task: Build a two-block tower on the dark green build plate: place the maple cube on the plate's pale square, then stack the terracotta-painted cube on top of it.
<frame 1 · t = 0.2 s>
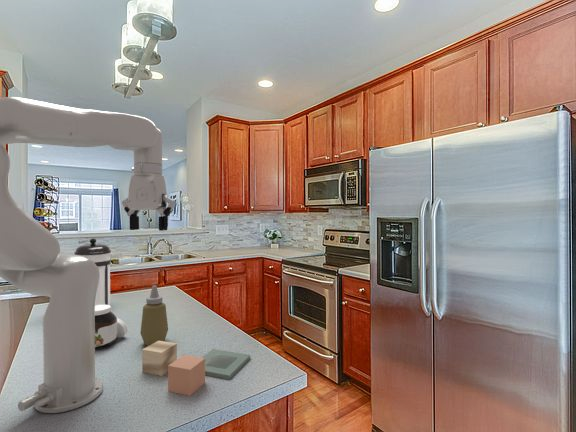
hand: (148, 230, 94), 36 cm above the counter, tool pointing down, fingers open, 9 cm apart
squeeze bottle: (154, 343, 102), on the counter
build plate: (220, 364, 87), on the counter
maple block: (160, 369, 85), on the counter
spread jar: (104, 343, 102), on the counter
coffee press: (89, 312, 131), on the counter
terracotta block: (187, 386, 77), on the counter
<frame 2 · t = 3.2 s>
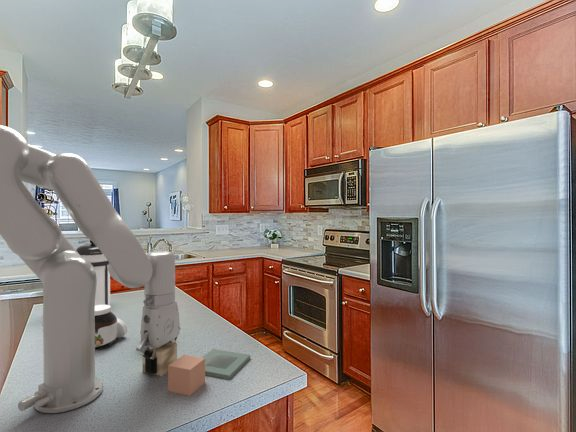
hand: (160, 366, 85), 1 cm above the counter, tool pointing down, fingers closed on maple block, 6 cm apart
maple block: (160, 368, 85), on the counter, touching gripper
everything else where it was.
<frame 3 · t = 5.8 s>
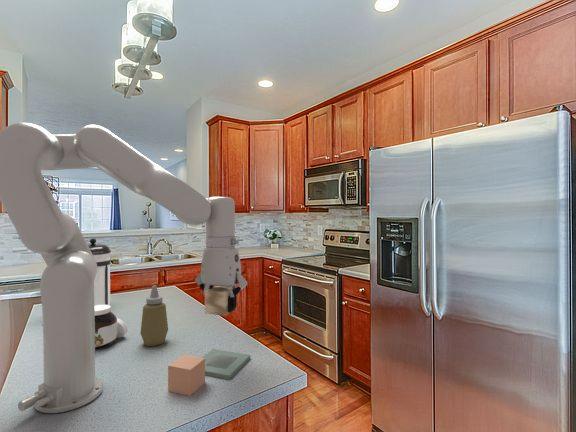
hand: (220, 308, 87), 15 cm above the counter, tool pointing down, fingers closed on maple block, 6 cm apart
maple block: (220, 311, 87), point 15 cm above the counter, touching gripper
everything else where it was.
when the fingers open (3 cm above the counter, at t = 8.5 s): maple block stays where it is, resting on build plate.
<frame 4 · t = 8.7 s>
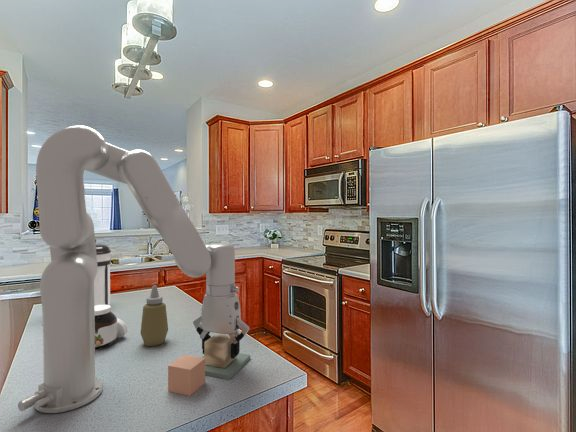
hand: (220, 353, 87), 3 cm above the counter, tool pointing down, fingers open, 8 cm apart
maple block: (220, 361, 87), point 1 cm above the counter, touching build plate
everything else where it was.
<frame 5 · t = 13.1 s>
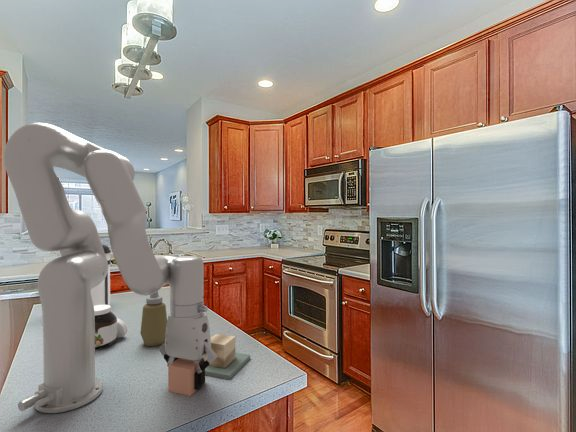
hand: (187, 383, 77), 1 cm above the counter, tool pointing down, fingers closed on terracotta block, 6 cm apart
terracotta block: (187, 386, 77), on the counter, touching gripper
everything else where it was.
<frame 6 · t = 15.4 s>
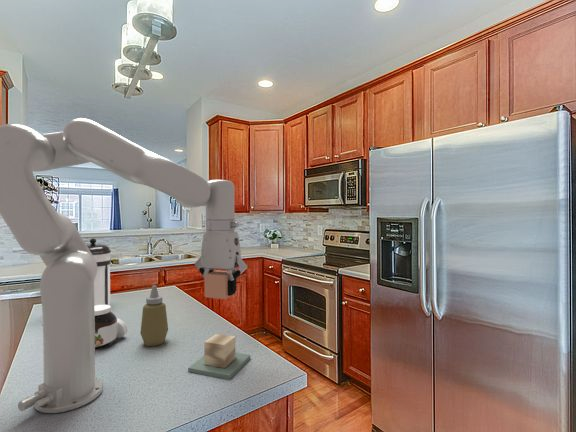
hand: (220, 292, 87), 20 cm above the counter, tool pointing down, fingers closed on terracotta block, 6 cm apart
terracotta block: (220, 295, 87), point 19 cm above the counter, touching gripper
everything else where it was.
when the fingers open (8 cm above the counter, at t = 17.8 s): terracotta block stays where it is, resting on maple block.
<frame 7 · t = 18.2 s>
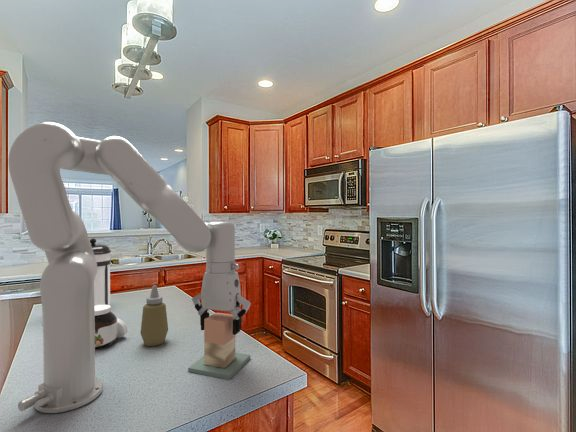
hand: (220, 330, 87), 9 cm above the counter, tool pointing down, fingers open, 9 cm apart
maple block: (220, 361, 87), point 1 cm above the counter, touching build plate, terracotta block
terracotta block: (220, 339, 87), point 7 cm above the counter, touching maple block
everything else where it was.
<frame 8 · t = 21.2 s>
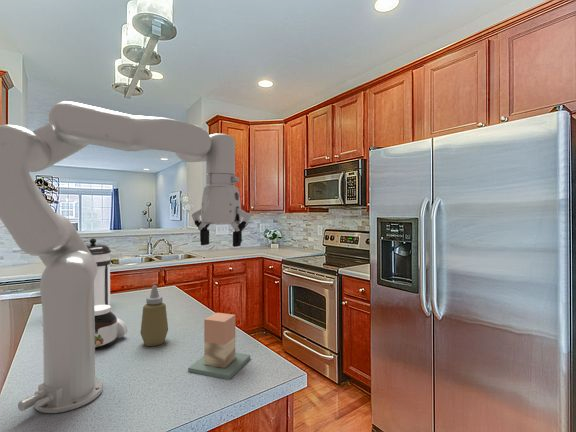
hand: (220, 245, 87), 32 cm above the counter, tool pointing down, fingers open, 9 cm apart
nothing on the counter moved.
at the end: maple block inside the target area on the build plate (0.1 cm from its centre), point 1.0 cm above the build plate's base; terracotta block 0.0 cm off-centre on the maple block, point 6.0 cm above the maple block's base; the gripper is holding nothing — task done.
